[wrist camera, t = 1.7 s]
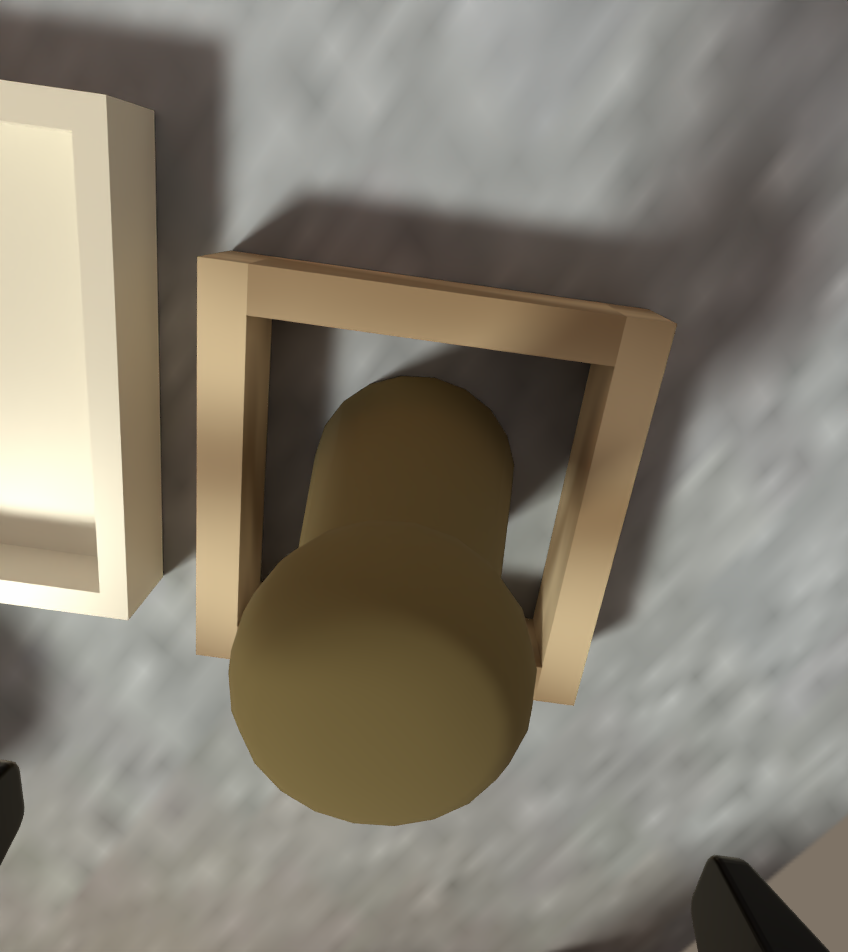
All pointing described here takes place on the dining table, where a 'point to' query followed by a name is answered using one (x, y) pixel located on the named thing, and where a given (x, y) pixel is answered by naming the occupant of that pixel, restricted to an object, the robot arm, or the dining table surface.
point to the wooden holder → (433, 319)
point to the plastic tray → (78, 353)
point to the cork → (391, 616)
